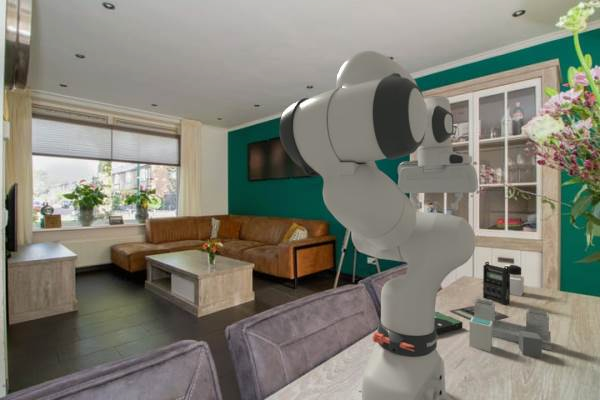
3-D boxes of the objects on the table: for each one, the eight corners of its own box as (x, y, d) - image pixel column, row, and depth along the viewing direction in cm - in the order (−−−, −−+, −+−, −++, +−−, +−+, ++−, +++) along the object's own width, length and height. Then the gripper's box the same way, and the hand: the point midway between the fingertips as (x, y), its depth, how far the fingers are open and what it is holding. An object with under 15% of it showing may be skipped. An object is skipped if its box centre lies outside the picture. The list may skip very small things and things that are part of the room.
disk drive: (429, 340, 89) (463, 330, 96) (429, 330, 89) (463, 321, 95) (404, 326, 99) (436, 318, 105) (404, 318, 99) (436, 310, 105)
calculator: (508, 315, 105) (479, 322, 99) (508, 318, 105) (479, 325, 99) (477, 304, 116) (449, 310, 110) (477, 306, 116) (449, 312, 110)
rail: (550, 350, 82) (551, 317, 82) (472, 331, 94) (472, 302, 94) (550, 342, 87) (550, 310, 86) (475, 324, 98) (475, 297, 98)
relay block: (541, 358, 78) (541, 339, 78) (523, 355, 80) (523, 336, 80) (536, 351, 82) (536, 333, 82) (518, 348, 83) (519, 330, 83)
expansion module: (490, 351, 81) (490, 325, 81) (469, 346, 85) (469, 320, 84) (491, 346, 85) (492, 320, 84) (471, 340, 88) (472, 316, 88)
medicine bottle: (523, 292, 131) (524, 265, 131) (521, 296, 126) (521, 268, 126) (504, 289, 136) (504, 263, 136) (501, 292, 131) (501, 265, 131)
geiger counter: (478, 297, 125) (479, 261, 125) (486, 296, 127) (486, 260, 127) (503, 306, 115) (504, 267, 115) (511, 304, 117) (512, 266, 117)
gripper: (393, 161, 86) (395, 209, 87) (474, 156, 73) (475, 211, 75) (401, 161, 91) (402, 206, 92) (478, 156, 78) (479, 208, 79)
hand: (435, 209), depth 83 cm, fingers open, 8 cm apart
